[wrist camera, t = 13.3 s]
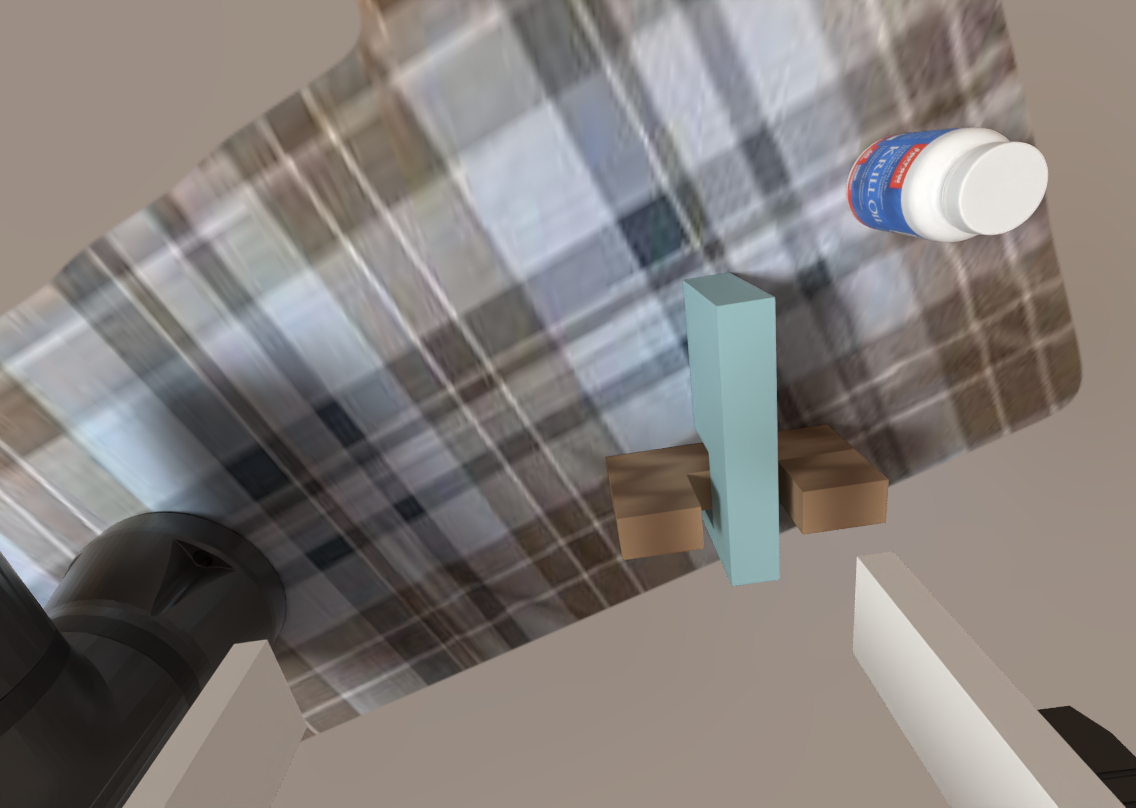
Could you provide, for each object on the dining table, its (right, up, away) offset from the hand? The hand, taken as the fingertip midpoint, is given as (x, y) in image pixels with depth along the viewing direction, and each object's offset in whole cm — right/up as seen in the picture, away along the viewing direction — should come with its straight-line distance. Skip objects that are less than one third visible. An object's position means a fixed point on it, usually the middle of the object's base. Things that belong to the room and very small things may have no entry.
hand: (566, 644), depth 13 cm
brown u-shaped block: (+11, +1, +29) cm, 31 cm away
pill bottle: (+19, +19, +22) cm, 35 cm away
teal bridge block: (+10, +5, +27) cm, 29 cm away
